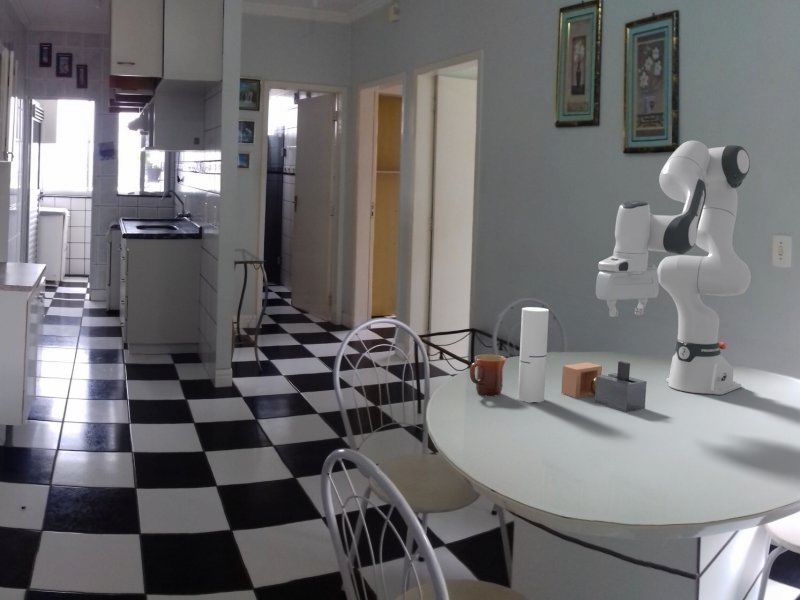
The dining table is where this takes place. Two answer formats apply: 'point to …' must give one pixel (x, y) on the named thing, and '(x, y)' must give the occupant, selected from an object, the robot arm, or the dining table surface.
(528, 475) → the dining table surface
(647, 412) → the dining table surface
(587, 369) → the peach pocketed block
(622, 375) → the tube
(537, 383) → the cylindrical container
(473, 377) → the mug
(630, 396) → the sleeve
